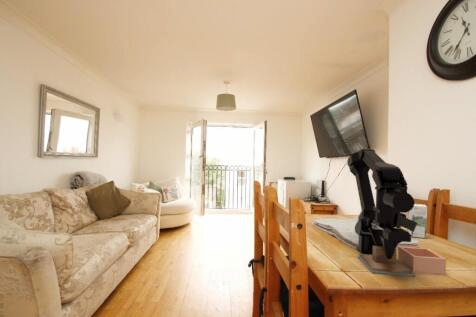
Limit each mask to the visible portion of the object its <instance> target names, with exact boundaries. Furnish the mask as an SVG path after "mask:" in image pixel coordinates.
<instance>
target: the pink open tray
mask: <svg viewBox="0 0 476 317" xmlns="http://www.w3.org/2000/svg"><path fill="white" fill-rule="evenodd" d="M397 248H398V249H397V250H398V251H397V252H398V253H397V259H398V260H399V261H400V262H401V263H403V264H404V265H405V266H407V267H408V268H409V269H410V270H412V272H413V273H414V274H425V275H426V274H429V275H439V274H440V276H441V275H442V276H446V273H447V269H446V268H447V258H445V257H443V256H441V255H440V254H438V253H436V252H434V251H432V249H429V248H427V247H426V248H425V247H415V246H414V247H413V246H411V247H409V246H399V245H397Z"/></svg>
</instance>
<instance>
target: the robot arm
mask: <svg viewBox="0 0 476 317" xmlns="http://www.w3.org/2000/svg"><path fill="white" fill-rule="evenodd" d="M346 162H347V163H346V164H347V166H348V168H349V172H350V173H351V174H352V175H353V176H354V177H355V181H356V186H357V192H358V197H359V203H360V210H361V211H360V212H359V215H358V220H357V222H356V223H355V226H354V233H355V234H356V235H357V236H358V240H357V241H358V243H357V244H358V246H356V249H357V250H358V251H359V252H360V254H366V255H373V246H383V247H384V250H385V254H386V257H387V259H391V258H392V256H393V254H394V251H395V249H396V250H397V248H398V246H399V244H400V243H404V242H405V243H412V237H411V234H410V233H409V232H408V231H407V229H409V230H410V231H412V232H414V230H415V228H416V225H417V222H415V221H412V220H410V219H408V217H407V214H405V213H408V212H409V211H410V210H412V208H413V207H414V204H416V203H415V200H414V197H413V195H411V194H410V193H408V182H407V180H406V178H405V177H404V174H403V172H402V170H401V168H400V167H399V166H397V165H396V164H391V163H388V162H386V161H385V160H384V159H383V158H382V157H380V156H379V154H377V153H376V151H375V149H373V148H361V149H358V151H356V152H354V153H351V154H350V155H349V157H348V158H347V161H346ZM370 170H371V172H372V174H371V177H372V179H373V180H372V181H373V182H374V184H375V187H374V189H375V190H376V192H375V199H374V194H373V190H372V184H371V180H370V176H369V172H370Z"/></svg>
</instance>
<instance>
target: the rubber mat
mask: <svg viewBox="0 0 476 317" xmlns="http://www.w3.org/2000/svg"><path fill="white" fill-rule="evenodd" d="M357 259H358V260H359V261H360V262H361V263H362V264H363V266H364V267H366V269H368V271H369V272H370V273H371V274H379V275H391V276H392V275H393V276H400V277H401V276H402V277H403V276H404V277H414V278H416V273H413V272H412V274H410V273H397V272H385V271H373V270H372V269H371V268H370V267H369V266H368V265H367V264H366V263H365V262H364V261H363V260H362V259H361V258H360V256H359V255H357Z"/></svg>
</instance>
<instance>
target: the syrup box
mask: <svg viewBox="0 0 476 317" xmlns="http://www.w3.org/2000/svg"><path fill="white" fill-rule="evenodd" d="M407 213H408V214H407V218H408V219H410V220H412V221H415V222H417V225H416V228H415V230H414V232H412V231H410V230H409V229H406V231H408V232H409V233H410V234H411V238H415V239H416V238H418V239H427V227H428V226H427V224H428V223H427V222H428V206H427V205H426V204H424V203H423V204H421V203H415V204H414V207H413V208H412V210H410V211H409V212H407Z"/></svg>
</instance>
